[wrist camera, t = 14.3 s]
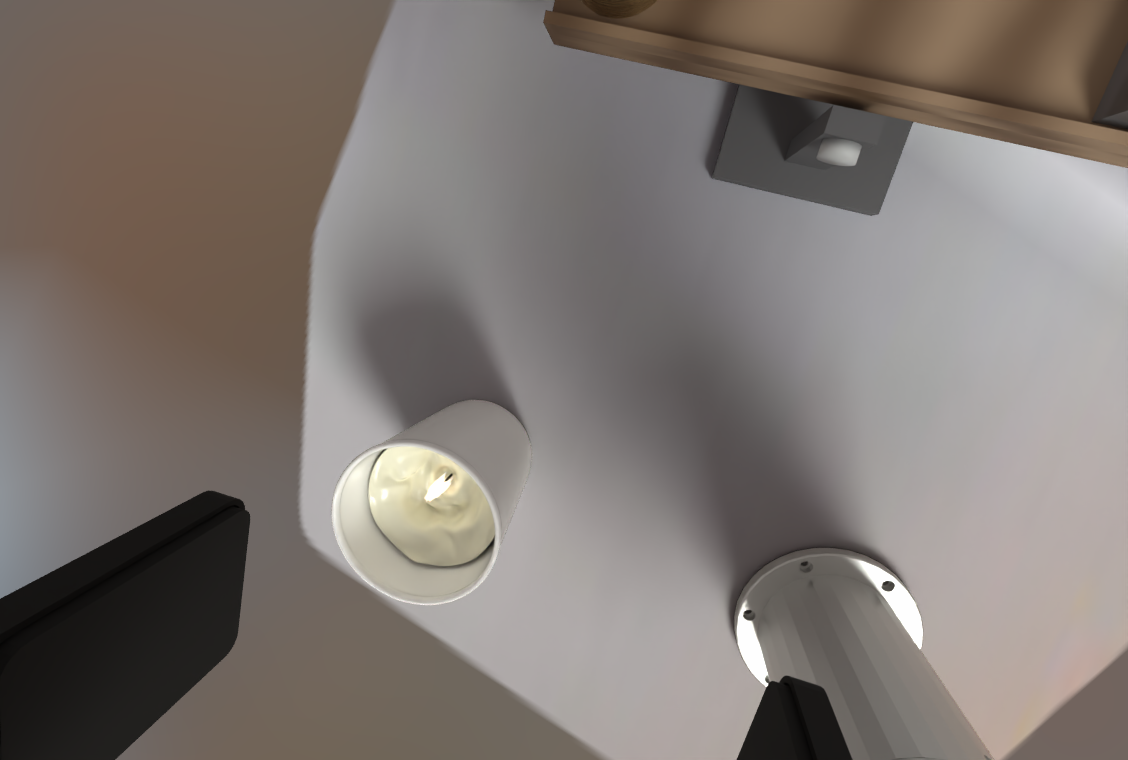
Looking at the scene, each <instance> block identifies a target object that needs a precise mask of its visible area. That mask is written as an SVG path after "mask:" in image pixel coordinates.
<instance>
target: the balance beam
mask: <svg viewBox="0 0 1128 760" xmlns="http://www.w3.org/2000/svg"><path fill="white" fill-rule="evenodd" d="M543 23H544V25H545V27H546V29H547V31H548V33H549V35H550V37H551V39H552V41H553V43H554V44H555V45H559V46H564V47H569V48H573V49H578V50H583V51H587V52H592V53H596V54H601V55H606V56H610V57H615V58H620V59H624V60H629V61H634V62H638V63H643V64H648V65H652V66H657V67H661V68H666V69H671V70H675V71H680V72H685V73H689V74H694V75H699V76H703V77H708V78H712V79H717V80H722V81H726V82H731V83H736V84H740V85H745V86H750V87H754V88H759V89H764V90H768V91H773V92H777V93H782V94H787V95H791V96H796V97H801V98H805V99H810V100H815V101H819V102H824V103H828V104H833V105H838V106H842V107H847V108H852V109H856V110H861V111H866V112H870V113H875V114H880V115H884V116H889V117H893V118H898V119H903V120H907V121H912V122H917V123H921V124H926V125H931V126H935V127H940V128H944V129H949V130H954V131H958V132H963V133H968V134H972V135H977V136H982V137H986V138H991V139H996V140H1000V141H1005V142H1009V143H1014V144H1019V145H1023V146H1028V147H1033V148H1037V149H1042V150H1047V151H1051V152H1056V153H1060V154H1065V155H1070V156H1074V157H1079V158H1084V159H1088V160H1093V161H1098V162H1102V163H1107V164H1112V165H1116V166H1121V167H1125V168H1128V0H657V1H656V2H655V3H654V4H653V5H652V6H651V7H649V8H648V9H647V10H645V11H643V12H642V13H640V14H637V15H635V16H632V17H628V18H621V19H616V18H608V17H604V16H601V15H599V14H597V13H595V12H593V11H592V10H590V9H589V8H588V7H587V6H586V5H585V4H584V3H583V2H582V1H581V0H555V2H554V7H553V12H552V11H547V10H546V12H545V17H544V22H543Z"/></svg>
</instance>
